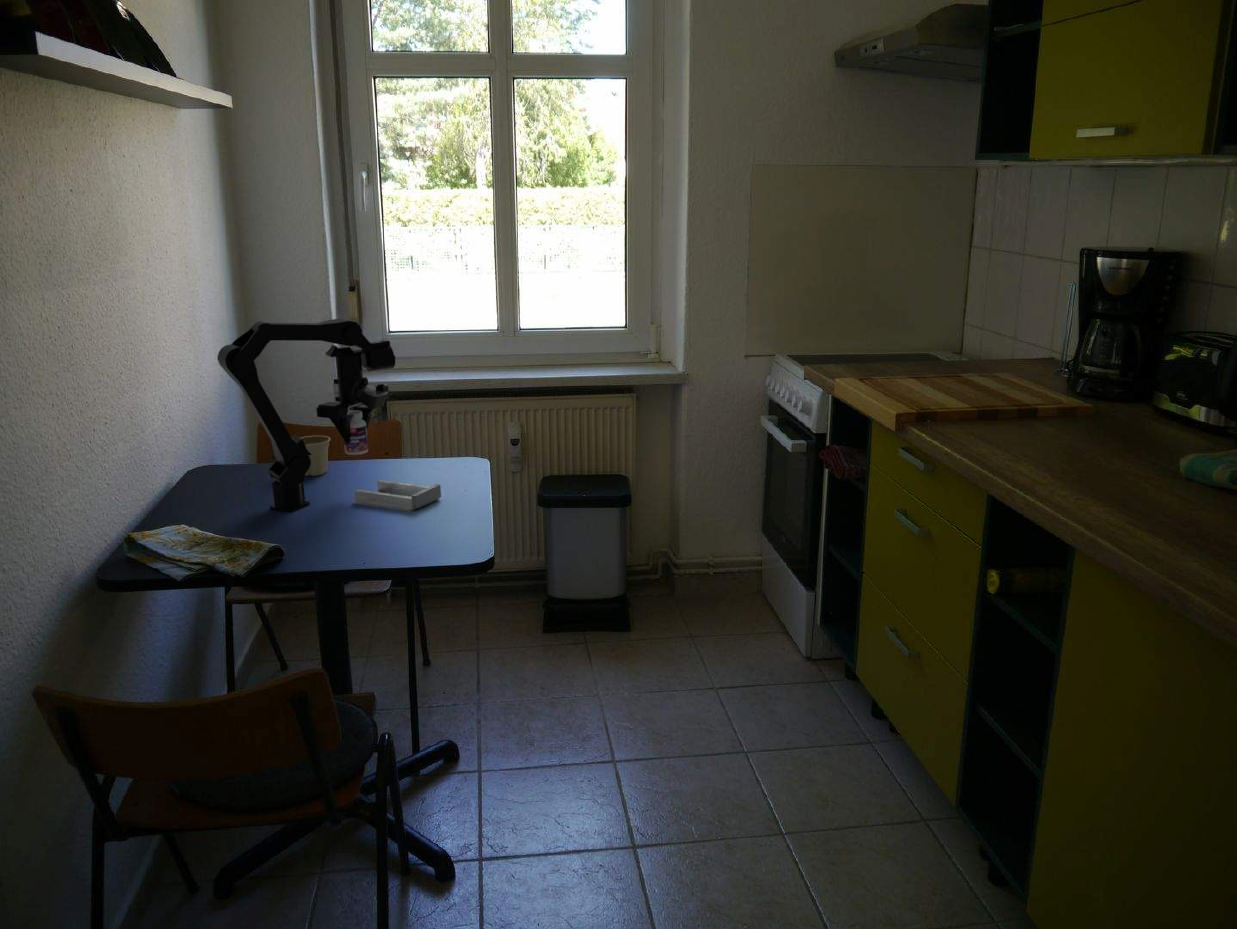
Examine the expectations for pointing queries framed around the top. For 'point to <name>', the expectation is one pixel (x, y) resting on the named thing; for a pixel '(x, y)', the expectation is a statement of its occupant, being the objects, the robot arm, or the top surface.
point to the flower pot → (317, 454)
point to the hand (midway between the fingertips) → (355, 439)
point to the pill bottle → (357, 435)
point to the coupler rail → (398, 495)
